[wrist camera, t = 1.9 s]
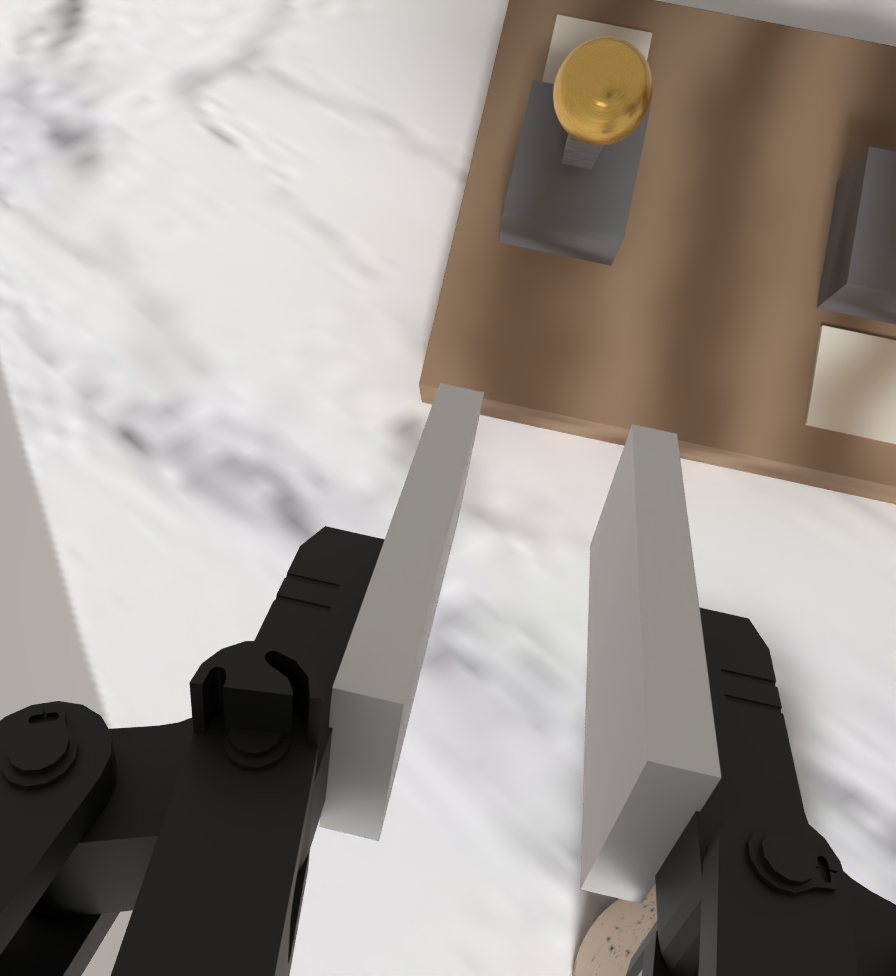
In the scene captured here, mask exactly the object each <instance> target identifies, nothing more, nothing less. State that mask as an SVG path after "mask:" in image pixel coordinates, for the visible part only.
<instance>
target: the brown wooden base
mask: <svg viewBox="0 0 896 976" xmlns="http://www.w3.org/2000/svg"><path fill="white" fill-rule="evenodd" d="M601 36H614V37H619V38H622V39H625V40H627V41H629V42H630V43H632V44H633V45H635V46H636V47H637V48H638V49H639V50H640V51H641V52H642V53H643V55H644V56H645V58H646V60H647V62H648V64H649V66H650V69H651V73H652V78H653V95H652V100H651V104H650V107H649V109H648V112H647V114H646V116H645V118H644V119H643V121H642V122H641V124H640V125H639V126H638V127H637V128H636V129H635V130H634V131H633V132H632V133H631V134H630V135H629V136H627V137H626V138H624V139H622V140H621V141H618V142H616V143H613V144H610V145H604V146H603V148H602V150H601V152H600V154H599V156H598V157H597V159H596V161H595V163H594V165H593V167H592V169H586V168H581V167H576V166H571V165H566V164H562V160H563V155H564V151H565V146H566V142H567V137H568V133H567V132H566V130H565V129H564V128H563V127H562V125H561V124H560V122H559V120H558V118H557V115H556V112H555V108H554V102H553V88H554V82H555V79H556V75H557V73H558V71H559V68H560V66H561V65H562V63H563V61H564V60H565V58H566V57H567V56H568V55H569V54H570V53H571V51H573V50H574V49H575V48H576V47H577V46H579V45H580V44H582V43H583V42H585V41H587V40H590V39H592V38H596V37H601ZM440 383H443V384H447V385H452V386H457V387H461V388H466V389H471V390H475V391H480V392H484V395H483V400H482V405H481V410H480V415H485V416H490V417H494V418H499V419H503V420H508V421H513V422H517V423H522V424H527V425H531V426H536V427H541V428H545V429H550V430H555V431H559V432H564V433H568V434H573V435H578V436H582V437H587V438H592V439H596V440H601V441H606V442H610V443H615V444H619V445H624V446H625V443H626V441H627V438H628V435H629V432H630V429H631V426H632V424H634V425H638V426H643V427H648V428H652V429H657V430H662V431H666V432H671V433H676V434H677V438H678V446H679V454H680V458H684V459H689V460H694V461H698V462H703V463H708V464H712V465H717V466H722V467H726V468H731V469H735V470H740V471H745V472H749V473H754V474H759V475H763V476H768V477H773V478H777V479H782V480H787V481H791V482H796V483H800V484H805V485H810V486H814V487H819V488H824V489H828V490H833V491H838V492H842V493H847V494H851V495H856V496H861V497H865V498H870V499H875V500H879V501H884V502H889V503H893V504H896V47H894V46H889V45H884V44H879V43H874V42H868V41H863V40H858V39H853V38H847V37H842V36H837V35H832V34H827V33H821V32H816V31H811V30H806V29H801V28H795V27H790V26H785V25H780V24H775V23H769V22H764V21H759V20H754V19H749V18H743V17H738V16H733V15H728V14H722V13H717V12H712V11H707V10H702V9H696V8H691V7H686V6H681V5H676V4H670V3H665V2H660V1H655V0H509V4H508V8H507V12H506V17H505V21H504V25H503V29H502V34H501V38H500V42H499V46H498V51H497V55H496V59H495V63H494V68H493V72H492V76H491V80H490V85H489V89H488V93H487V97H486V102H485V106H484V110H483V114H482V119H481V123H480V127H479V131H478V136H477V140H476V144H475V148H474V153H473V157H472V161H471V165H470V170H469V174H468V178H467V182H466V187H465V191H464V195H463V200H462V204H461V208H460V212H459V217H458V221H457V225H456V229H455V234H454V238H453V242H452V246H451V251H450V255H449V259H448V263H447V268H446V272H445V276H444V280H443V285H442V289H441V293H440V297H439V302H438V306H437V310H436V314H435V319H434V323H433V327H432V331H431V336H430V340H429V344H428V348H427V353H426V357H425V361H424V365H423V370H422V374H421V378H420V382H419V387H420V393H421V399H422V402H425V403H429V404H433V402H434V399H435V396H436V394H437V391H438V388H439V385H440Z"/></svg>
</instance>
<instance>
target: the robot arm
mask: <svg viewBox="0 0 896 976" xmlns="http://www.w3.org/2000/svg"><path fill="white" fill-rule="evenodd" d="M483 395H484V392H480V391H475V390H471V389H466V388H461V387H457V386H452V385H447V384H443V383H440V385H439V388H438V391H437V394H436V396H435V399H434V402H433V405H432V408H431V411H430V413H429V416H428V419H427V422H426V425H425V428H424V430H423V433H422V436H421V439H420V442H419V444H418V447H417V450H416V453H415V456H414V459H413V461H412V464H411V467H410V470H409V473H408V476H407V478H406V481H405V484H404V487H403V490H402V492H401V495H400V498H399V501H398V504H397V507H396V509H395V512H394V515H393V518H392V521H391V524H390V526H389V529H388V532H387V535H386V538H385V540H384V539H380V538H375V537H371V536H366V535H362V534H357V533H353V532H349V531H344V530H340V529H335V528H331V527H326V526H325V527H324V528H322V529H321V530H320V531H319V532H317V533H316V534H315V535H314V536H312V537H311V538H310V539H309V540H307V541H306V542H305V543H304V544H302V545H301V546H300V547H299V550H298V552H297V554H296V556H295V558H294V560H293V562H292V564H291V566H290V568H289V570H288V572H287V577H286V578H285V579H284V581H283V583H282V585H281V587H280V589H279V591H278V593H277V596H276V600H274V601H273V603H272V605H271V608H270V610H269V612H268V614H267V616H266V618H265V620H264V622H263V624H262V626H261V628H260V630H259V632H258V634H257V637H256V639H255V641H245V642H242V643H239V644H236V645H233V646H229V647H226V648H223V649H221V650H220V651H218V652H217V653H215V654H214V655H213V656H211V657H210V658H209V659H207V660H206V661H205V662H203V663H202V664H201V666H200V667H199V669H198V670H197V672H196V673H195V675H194V677H193V678H192V680H191V681H190V694H191V706H192V718H190V719H187V720H184V721H182V722H179V723H173V724H167V725H160V726H147V727H132V728H116V729H108V727H107V725H106V724H105V722H104V720H103V719H102V717H101V716H100V715H99V714H97V713H95V712H94V711H92V710H90V709H88V708H87V707H85V706H84V705H81V704H74V703H68V702H61V701H56V702H50V703H42V704H36V705H31V706H29V707H26V708H24V709H22V710H20V711H17V712H15V713H13V714H10V715H8V716H6V717H4V718H3V719H2V720H1V721H0V976H81V975H82V973H83V972H84V970H85V968H86V967H87V965H88V964H89V962H90V960H91V959H92V957H93V955H94V954H95V952H96V950H97V949H98V947H99V945H100V944H101V942H102V941H103V939H104V937H105V936H106V934H107V932H108V931H109V929H110V927H111V926H112V924H113V922H114V921H115V919H116V917H117V916H118V914H119V913H120V912H121V911H129V910H133V912H132V915H131V918H130V921H129V924H128V926H127V929H126V932H125V935H124V938H123V941H122V944H121V947H120V950H119V953H118V956H117V959H116V962H115V965H114V968H113V971H112V973H111V976H289V974H290V969H291V963H292V957H293V952H294V946H295V940H296V935H297V929H298V923H299V918H300V912H301V906H302V901H303V895H304V889H305V884H306V878H307V872H308V864H309V852H310V847H311V844H312V841H313V837H314V834H315V831H316V828H317V825H318V822H319V819H320V825H319V827H322V828H327V829H331V830H335V831H339V832H343V833H348V834H352V835H356V836H360V837H364V838H368V839H373V840H377V841H379V838H380V834H381V830H382V826H383V822H384V818H385V814H386V810H387V806H388V802H389V798H390V794H391V790H392V786H393V782H394V778H395V773H396V769H397V765H398V761H399V757H400V753H401V749H402V745H403V741H404V737H405V733H406V729H407V725H408V721H409V717H410V713H411V709H412V704H413V700H414V696H415V692H416V688H417V684H418V680H419V676H420V672H421V668H422V664H423V660H424V656H425V652H426V648H427V644H428V640H429V635H430V631H431V627H432V623H433V619H434V615H435V611H436V607H437V603H438V599H439V595H440V591H441V587H442V583H443V579H444V575H445V570H446V566H447V562H448V558H449V554H450V550H451V546H452V542H453V538H454V534H455V530H456V526H457V522H458V518H459V513H460V508H461V503H462V498H463V494H464V489H465V484H466V479H467V474H468V469H469V464H470V459H471V454H472V449H473V445H474V440H475V435H476V430H477V425H478V420H479V415H480V410H481V405H482V400H483ZM775 682H776V679H775V674H774V669H773V665H772V660H771V655H770V651H769V648H768V647H767V645H766V644H765V642H764V641H763V639H762V638H761V636H760V635H759V633H758V632H757V630H756V629H755V627H754V626H753V624H752V623H751V621H750V620H749V619H748V618H744V617H739V616H735V615H730V614H726V613H721V612H717V611H712V610H708V609H703V608H699V601H698V593H697V586H696V578H695V570H694V562H693V555H692V547H691V539H690V531H689V524H688V516H687V508H686V500H685V493H684V485H683V477H682V469H681V462H680V454H679V446H678V438H677V434H676V433H671V432H666V431H662V430H657V429H652V428H648V427H643V426H638V425H634V424H632V426H631V429H630V432H629V435H628V438H627V441H626V443H625V446H624V449H623V452H622V455H621V458H620V461H619V464H618V467H617V469H616V472H615V475H614V478H613V481H612V484H611V487H610V490H609V493H608V496H607V498H606V501H605V504H604V507H603V510H602V513H601V516H600V519H599V522H598V524H597V527H596V530H595V533H594V536H593V539H592V542H591V545H590V578H589V613H588V648H587V682H586V717H585V752H584V786H583V821H582V856H581V890H586V891H590V892H594V893H598V894H602V895H607V896H611V897H615V898H619V899H623V900H627V901H632V902H636V903H640V904H642V903H643V901H644V899H645V898H646V896H647V895H648V893H649V892H650V890H651V888H652V887H653V885H654V884H656V905H657V921H656V923H655V924H654V926H653V927H652V928H651V930H650V931H649V933H648V934H647V936H646V937H645V939H644V940H643V942H642V943H641V945H640V946H639V948H638V949H637V951H636V952H635V954H634V955H633V957H632V958H631V961H630V964H629V967H628V970H627V973H626V976H638V975H639V973H640V972H641V970H642V976H896V905H895V904H893V903H891V902H890V901H888V900H886V899H884V898H882V897H880V896H879V895H877V894H875V893H873V892H871V891H870V890H868V889H867V888H865V887H864V886H862V885H861V884H859V883H858V882H856V881H854V880H853V879H852V878H850V877H849V876H848V875H847V874H846V873H845V872H844V871H843V869H842V866H841V862H840V860H839V859H838V857H837V856H836V855H835V853H834V852H833V850H832V849H831V847H830V846H829V844H828V843H827V841H826V840H825V838H824V837H823V836H821V835H820V834H819V833H818V832H817V831H816V830H815V829H814V828H812V827H811V826H810V825H809V824H808V821H807V818H806V815H805V812H804V808H803V804H802V799H801V794H800V790H799V785H798V780H797V776H796V771H795V766H794V762H793V757H792V753H791V748H790V743H789V739H788V734H787V729H786V725H785V720H784V716H783V714H781V708H782V706H781V702H780V697H779V692H778V688H777V687H775Z"/></svg>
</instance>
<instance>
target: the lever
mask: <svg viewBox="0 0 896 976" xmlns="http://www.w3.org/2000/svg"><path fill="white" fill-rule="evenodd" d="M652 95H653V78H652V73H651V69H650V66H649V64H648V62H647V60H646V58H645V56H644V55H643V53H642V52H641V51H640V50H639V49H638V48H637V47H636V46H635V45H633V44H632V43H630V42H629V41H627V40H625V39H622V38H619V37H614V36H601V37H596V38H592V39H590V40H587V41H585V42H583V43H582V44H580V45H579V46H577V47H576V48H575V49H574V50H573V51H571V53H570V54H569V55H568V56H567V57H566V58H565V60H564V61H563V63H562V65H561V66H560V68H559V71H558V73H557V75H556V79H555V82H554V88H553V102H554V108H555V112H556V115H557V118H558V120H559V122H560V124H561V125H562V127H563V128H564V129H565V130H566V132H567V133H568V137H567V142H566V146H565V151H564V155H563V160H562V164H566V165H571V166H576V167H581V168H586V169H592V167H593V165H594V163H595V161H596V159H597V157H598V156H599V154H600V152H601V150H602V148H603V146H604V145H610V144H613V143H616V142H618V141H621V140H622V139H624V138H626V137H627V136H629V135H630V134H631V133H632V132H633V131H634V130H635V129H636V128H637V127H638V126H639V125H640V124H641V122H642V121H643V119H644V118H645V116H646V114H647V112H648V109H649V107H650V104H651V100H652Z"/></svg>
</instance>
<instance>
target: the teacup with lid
mask: <svg viewBox="0 0 896 976" xmlns="http://www.w3.org/2000/svg"><path fill="white" fill-rule="evenodd" d="M656 921H657V905H656V885H653V887H652V888H651V890H650V892H649V893H648V895H647V896H646V898H645V899H644V901H643V903H642V904H640V903H636V902H632V901H627V900H623V899H618V900H617V901H615V902H614V903H612V904H611V905H610V906H609V907H608V908H607V909H605V910H604V911H603V912H602V914H601V915H600V916H599V917H598V918H597V919H596V920H595V922H594V923H593V924H592V926H591V927H590V929H589V930H588V932H587V934H586V935H585V938H584V940H583V942H582V944H581V946H580V949H579V951H578V954H577V958H576V962H575V966H574V971H573V976H626V973H627V970H628V967H629V964H630V961H631V958H632V957H633V955H634V954H635V952H636V951H637V949H638V948H639V946H640V945H641V943H642V942H643V940H644V939H645V937H646V936H647V934H648V933H649V931H650V930H651V928H652V927H653V926H654V924H655V923H656ZM638 976H642V970H641V972H640V973H639V975H638Z"/></svg>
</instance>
